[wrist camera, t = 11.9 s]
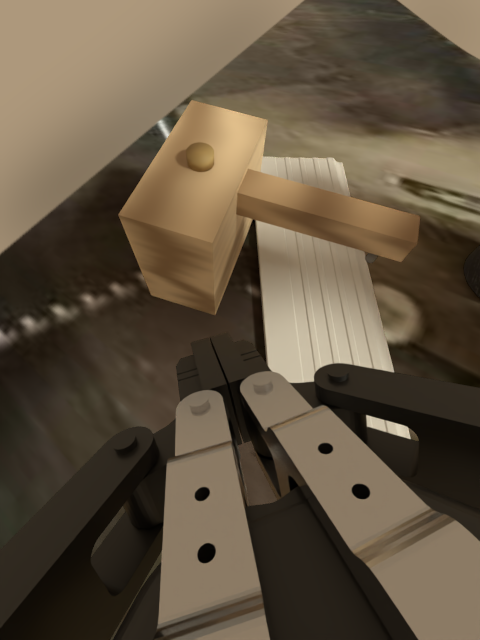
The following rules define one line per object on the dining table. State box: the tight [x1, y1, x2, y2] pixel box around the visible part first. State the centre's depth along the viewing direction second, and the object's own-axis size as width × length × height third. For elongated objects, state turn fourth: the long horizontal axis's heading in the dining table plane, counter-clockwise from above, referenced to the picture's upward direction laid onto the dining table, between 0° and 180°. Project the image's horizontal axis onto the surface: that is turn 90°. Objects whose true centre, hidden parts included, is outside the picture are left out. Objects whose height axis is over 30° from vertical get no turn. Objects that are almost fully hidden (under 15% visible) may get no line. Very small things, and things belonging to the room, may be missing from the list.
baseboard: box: [255, 157, 411, 439], centre depth 29 cm, size 31×3×12 cm
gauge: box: [118, 100, 420, 315], centre depth 25 cm, size 18×12×11 cm, turn 72°
